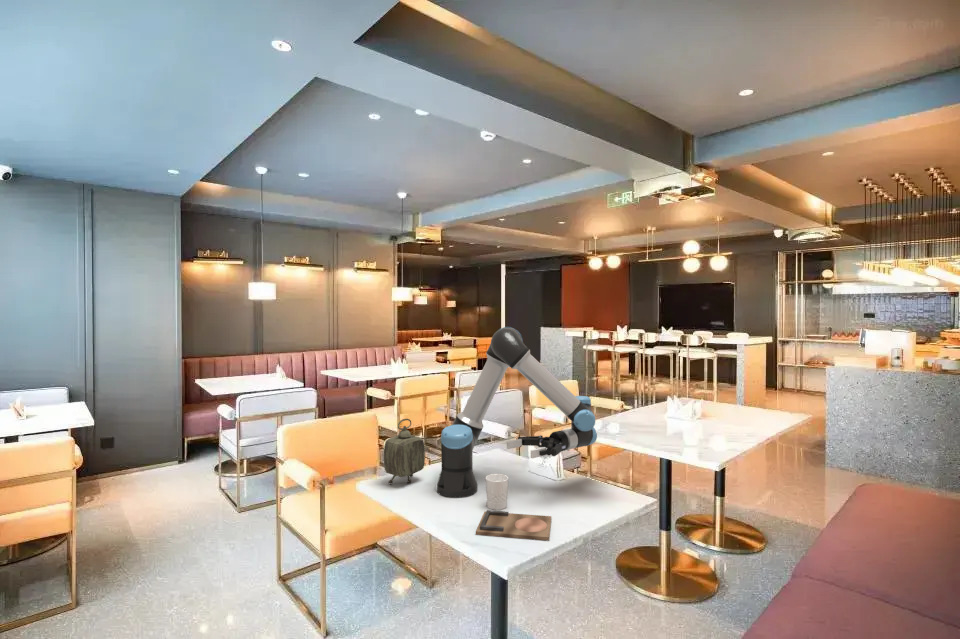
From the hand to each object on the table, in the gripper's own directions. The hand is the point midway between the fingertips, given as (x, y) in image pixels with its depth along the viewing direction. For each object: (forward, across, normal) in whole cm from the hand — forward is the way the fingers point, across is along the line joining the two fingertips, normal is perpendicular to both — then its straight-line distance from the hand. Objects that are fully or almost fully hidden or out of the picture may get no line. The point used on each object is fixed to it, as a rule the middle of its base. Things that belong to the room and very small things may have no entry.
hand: (518, 449), depth 178 cm
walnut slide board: (+15, -16, -18) cm, 28 cm away
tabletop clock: (+25, +40, -18) cm, 50 cm away
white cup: (+10, 0, -18) cm, 21 cm away
